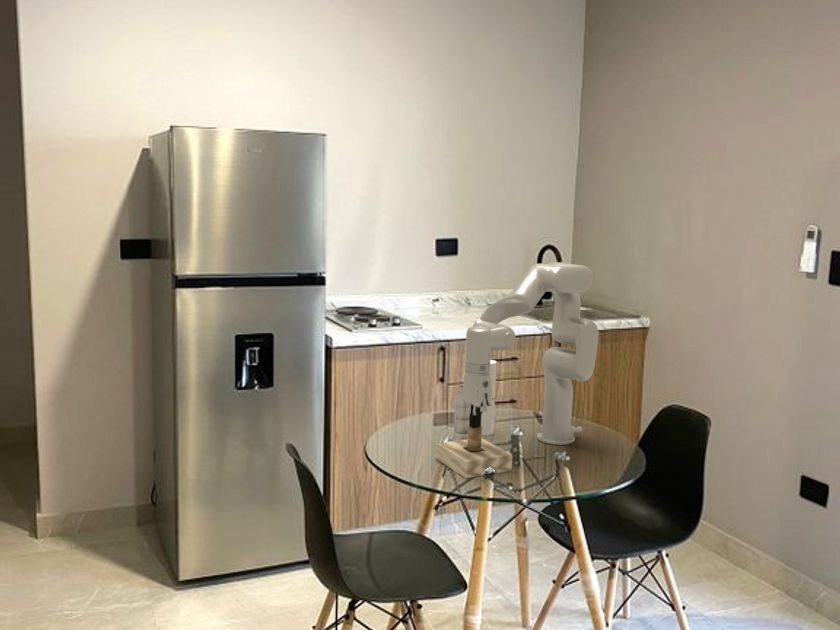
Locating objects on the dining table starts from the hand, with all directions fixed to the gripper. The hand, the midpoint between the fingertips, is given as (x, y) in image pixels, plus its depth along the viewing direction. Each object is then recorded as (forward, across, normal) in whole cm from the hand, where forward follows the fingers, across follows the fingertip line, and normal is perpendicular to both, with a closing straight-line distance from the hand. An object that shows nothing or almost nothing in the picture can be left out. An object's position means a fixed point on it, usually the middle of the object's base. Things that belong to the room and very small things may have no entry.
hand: (474, 426), depth 259 cm
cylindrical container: (+12, +27, -20) cm, 36 cm away
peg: (+12, 0, 0) cm, 12 cm away
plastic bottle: (+12, +17, -6) cm, 22 cm away
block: (+12, 0, 0) cm, 12 cm away
